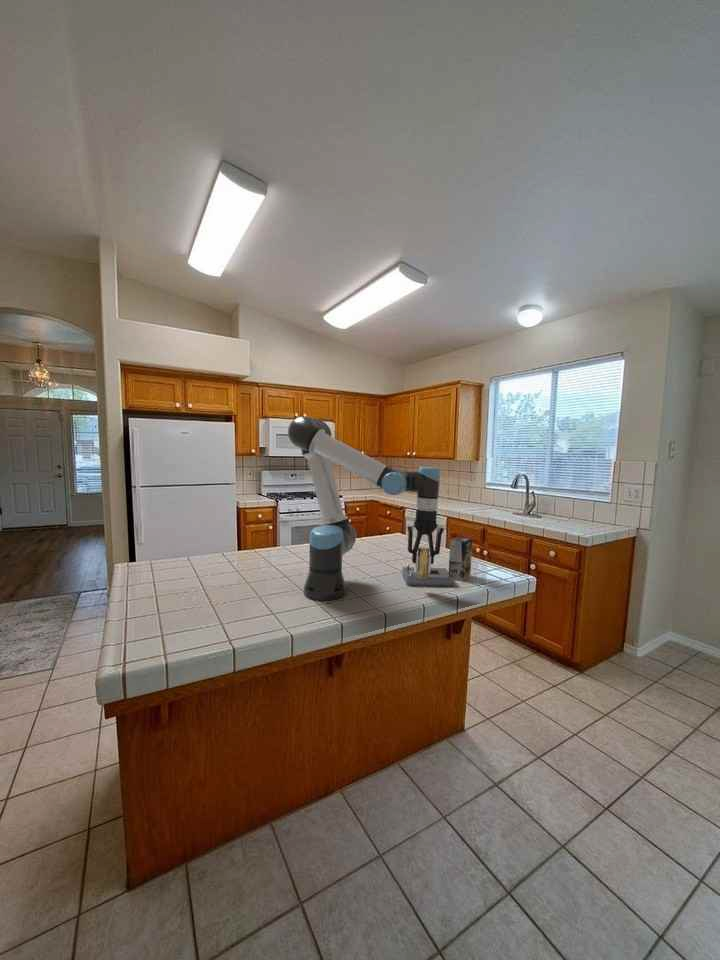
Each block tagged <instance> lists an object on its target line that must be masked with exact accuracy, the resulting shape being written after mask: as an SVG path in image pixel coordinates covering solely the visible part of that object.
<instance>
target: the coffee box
mask: <svg viewBox="0 0 720 960" xmlns="http://www.w3.org/2000/svg"><path fill="white" fill-rule="evenodd" d="M449 542H450V544H449V558H448V572H449V573H450V574H451V575H452V576H453V580H456V581H460V582H463V581H464V580H466V579H468V578H469V577H471V572H472V571H471V569H472V568H471V567H472V552H473V550H472V547H473V538H469V537H461V536H457V537H456V538H451V539H450V540H449Z"/></svg>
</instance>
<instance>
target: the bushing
mask: <svg viewBox="0 0 720 960" xmlns="http://www.w3.org/2000/svg"><path fill="white" fill-rule="evenodd" d="M417 554H418V555H419V557H418V571H417V573H416V578H418V579H427V571H428V558H429V554H430V550H429V547H425V546H419V548H418V551H417Z"/></svg>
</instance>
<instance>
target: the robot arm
mask: <svg viewBox="0 0 720 960" xmlns="http://www.w3.org/2000/svg"><path fill="white" fill-rule="evenodd" d="M287 435H288V439H289V441H290V442H291V443H292V444H293V445H294V446H295V447H297V448H299V449H300V450H301V455H302V457H304V458H305V459H307V462H308V467H309V470H310V474H311V479H312V483H313V487H314V491H315V495H316V500H317V505H318V507H319V512H320V517H321V520H320V522H319V524H318V526H316V527H314V528H312V529H311V531H310V535H309V539H308V540H309V557H308V558H309V567H308V568H309V570H308V574H307V577H306V579H305V583H304V585H303V595H304V596H305V597H306V598H308V599H313V600H315V601H334V600H338V599H341V598H343V597H345V596H346V594H347V585H346V582H345V579H344V575H343V556H345V554H347V553H348V552H350V551H351V550H352V548H353V547H354V545H355V543H356V539H357V534H356V531H355V529H354V528H355V527H353V526H352V525H351V524H350V519H349V517H348V516H347V515H345V513H344V511H343V507H342V502H341V500H340V499H341V498H340V494H339V490H338V485H337V482H336V477H335V474H334V469H333V466H332V465H333V464H332V463H334V464H336V465H338V466H340V467H342V468H344V470H347V471H350V472H351V473H353V474H355V475H357V476H358V477H361V478H362V479H364V480H366V481H368V482H370V483H371V484H373V485H375V486H377V487H379V488H380V489H382V490H383V491H384V492H385V493H386V494H387V495H390V496H397V495H400V494H402V493H403V492H410V493H411V492H412V493H417V495H416V504H415V505H416V509H415V520H414V522H413V524H410V525H409V524H408V525H406V529H407V532H408V533H407V552H408V553H409V554H412V555H411V556H412V557H411V561H412V563H413V564H414V565H413V567H414V571H415V573H417V571H418V557H419V555H418V548H419V547H420V544H421V540H422V537H423V536H425V535H426V536H427V541H428V548H429V558H428V571H427V573H428V574H430V568H432V567H431V565H433V564H434V561H435V556H436V555H439V554H440V550H441V543H442V536H443V533H444V530H445V529H444V528H443V527H442V526H439V525H438V523H437V518H438V517H437V515H438V512H437V509H438V505H439V504H438V502H439V501H438V500H439V491H440V482H441V481H440V478H441V477H440V473H441V471H440V469H439V467H433V466H432V467H430V466H420V467H419V469H418V471H409V470H399V469H393V468H392V467H389V466H388V465H385V464H383V463H382V462H380V461H378V460H376V459H374V458H372V457H370V456H369V455H367V454H365V453H362V452H361V451H359V450H358V449H355V448H353V447H352V446H349V445H348V444H346V443H344V442H342V441H340V440H338V439H336V438H334V437H332V436H333V435H332V430H331V427H330V426H329V425H328V424H327V423H326V422H325V421H324V420H321V419H318V418H312V417H309V416H298V417H296V418H295V419H293V420H292V421H291V423H290V424H289V426H288V429H287ZM414 530H416V532H417V533H416V537H415V542H414V545H413V532H414ZM434 531H436V539H435V545H434V541H433V533H434Z"/></svg>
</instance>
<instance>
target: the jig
mask: <svg viewBox="0 0 720 960" xmlns="http://www.w3.org/2000/svg"><path fill="white" fill-rule="evenodd" d="M401 572H402V573H401V574H402V577H403V580H404V583H405V584H406V586H414V587H415V586H416V587H417V586H419V587H423V586H424V587H454V579H453V576H452V575H451V574H450V573H449V570H448V569H447V568H446V567H430V574H428V573H427V579H418V578H416V573H415V571H414V566H413V567H410V564H408V563H407V564H406V566H405V567H404V566H403V567H402V571H401Z"/></svg>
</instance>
